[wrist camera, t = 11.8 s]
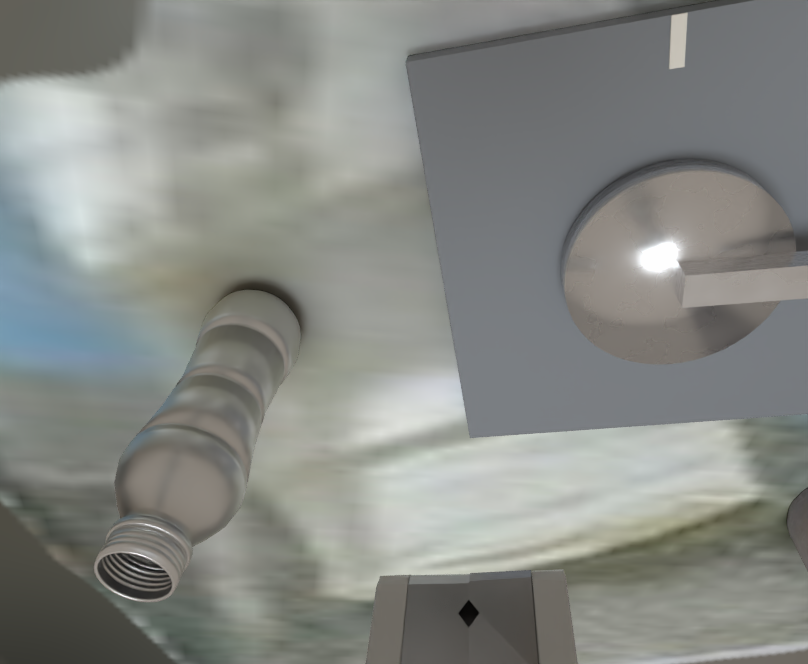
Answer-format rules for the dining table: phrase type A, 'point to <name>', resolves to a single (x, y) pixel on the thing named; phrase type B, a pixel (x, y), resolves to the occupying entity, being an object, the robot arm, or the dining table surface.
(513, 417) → the dial plate
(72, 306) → the dining table surface
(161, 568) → the plastic bottle
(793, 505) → the pillar candle
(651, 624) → the dining table surface
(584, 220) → the dial
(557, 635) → the robot arm
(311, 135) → the dining table surface
